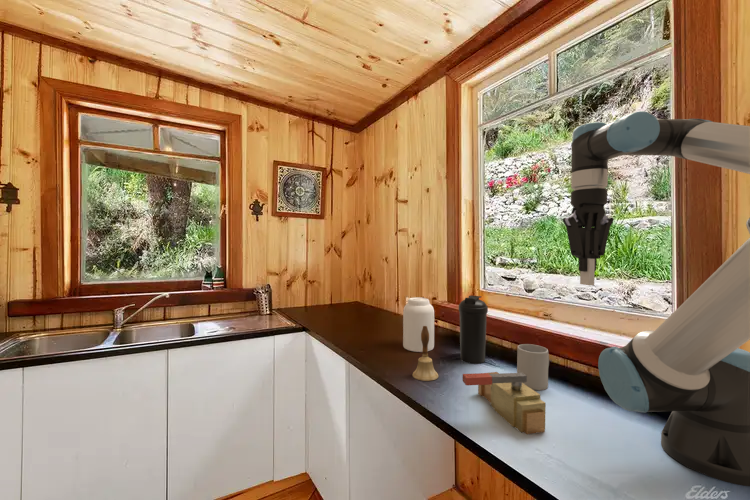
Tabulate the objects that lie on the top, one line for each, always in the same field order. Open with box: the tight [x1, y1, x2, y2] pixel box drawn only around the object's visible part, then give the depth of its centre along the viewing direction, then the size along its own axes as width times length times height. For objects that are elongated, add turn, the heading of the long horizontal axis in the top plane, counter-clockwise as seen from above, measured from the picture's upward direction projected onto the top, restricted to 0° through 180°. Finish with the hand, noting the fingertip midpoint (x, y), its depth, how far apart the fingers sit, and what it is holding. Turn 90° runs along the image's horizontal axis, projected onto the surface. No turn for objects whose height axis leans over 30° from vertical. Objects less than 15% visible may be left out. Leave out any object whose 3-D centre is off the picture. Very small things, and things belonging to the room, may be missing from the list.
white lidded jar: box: [402, 297, 435, 353], centre depth 133 cm, size 12×12×20 cm
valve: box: [477, 371, 547, 435], centre depth 84 cm, size 20×7×7 cm, turn 12°
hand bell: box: [411, 326, 439, 382], centre depth 105 cm, size 8×8×16 cm
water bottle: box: [458, 295, 489, 365], centre depth 119 cm, size 10×10×23 cm
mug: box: [516, 343, 550, 391], centre depth 100 cm, size 12×8×11 cm
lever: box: [462, 372, 527, 391], centre depth 80 cm, size 15×2×4 cm, turn 95°
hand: (587, 284), depth 82 cm, fingers closed
